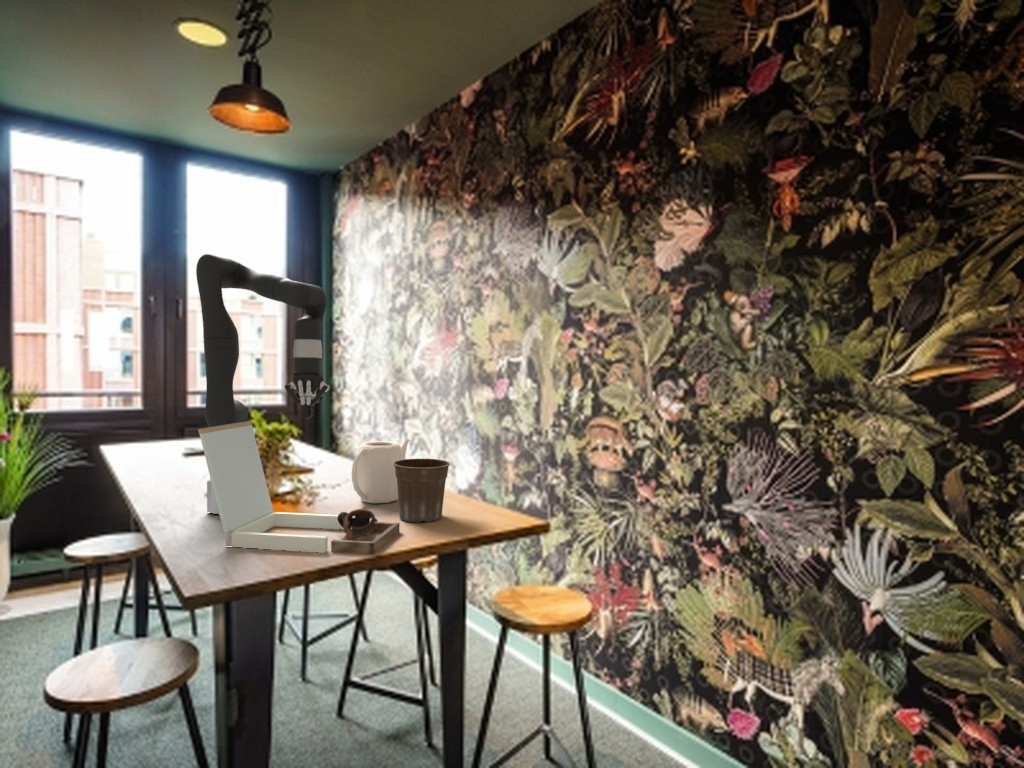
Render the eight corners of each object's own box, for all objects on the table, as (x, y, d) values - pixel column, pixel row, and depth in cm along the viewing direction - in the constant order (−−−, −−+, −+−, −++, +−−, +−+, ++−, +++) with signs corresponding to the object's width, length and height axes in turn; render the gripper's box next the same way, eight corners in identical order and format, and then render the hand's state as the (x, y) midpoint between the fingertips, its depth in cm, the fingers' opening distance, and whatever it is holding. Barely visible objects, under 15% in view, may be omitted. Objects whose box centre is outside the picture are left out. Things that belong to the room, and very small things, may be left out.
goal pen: (331, 551, 142) (331, 541, 141) (361, 530, 160) (361, 521, 160) (374, 553, 140) (374, 543, 140) (399, 532, 158) (399, 522, 158)
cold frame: (198, 545, 145) (197, 428, 144) (247, 523, 165) (247, 420, 165) (324, 552, 140) (325, 432, 139) (359, 528, 161) (359, 423, 160)
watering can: (426, 495, 204) (427, 440, 203) (371, 511, 181) (371, 449, 180) (391, 490, 212) (392, 436, 211) (334, 504, 189) (334, 445, 188)
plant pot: (458, 514, 179) (459, 460, 178) (433, 527, 163) (434, 468, 163) (410, 509, 184) (410, 456, 184) (382, 521, 169) (382, 464, 168)
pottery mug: (386, 535, 157) (385, 512, 153) (364, 560, 150) (363, 537, 146) (347, 519, 161) (345, 496, 157) (325, 543, 153) (322, 520, 149)
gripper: (278, 355, 164) (278, 419, 164) (324, 356, 162) (324, 420, 162) (292, 356, 171) (291, 416, 172) (336, 356, 169) (335, 417, 170)
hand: (307, 418), depth 167 cm, fingers closed
